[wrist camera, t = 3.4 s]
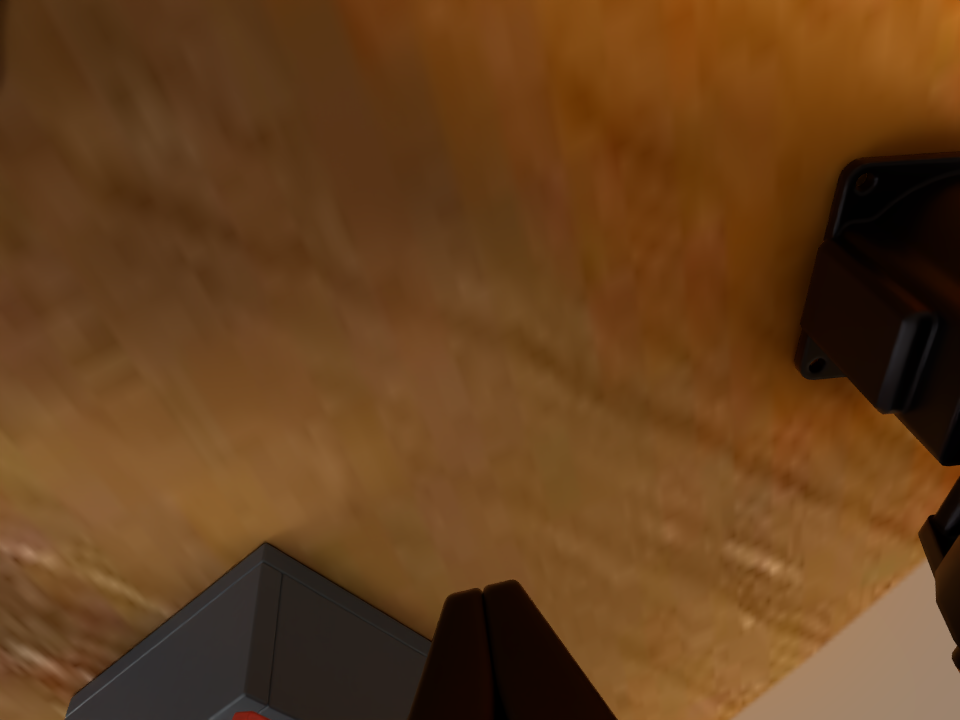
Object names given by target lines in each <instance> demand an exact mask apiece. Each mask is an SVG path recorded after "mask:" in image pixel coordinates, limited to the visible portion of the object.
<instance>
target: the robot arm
mask: <svg viewBox="0 0 960 720" xmlns="http://www.w3.org/2000/svg"><path fill="white" fill-rule="evenodd" d="M866 173H867V177H866V179H865V181H864V182H863V183H862V184H861V185H859V186H856V182H857V180H858V178H859V177H861V176H862V175H863V174H866ZM800 325H801V328H802V331H801V335H800V339H799V343H798V347H797V352H796V356H795V363H794V365H795V367H796V369H797V370H798V371H799V372H800V374H801V375H802V376H803V377H804V378H806V379H809V380H818V379H828V378H839V377H847V378H848V379H849V380H850V381H851V382H852V383H853V384H854V385H855V386H856V387H857V389H858V390H859V391H860V392H861V393H862V394H863V395H864V396H865V397H866V398H867V399H868V400H869V402H870V403H871V404H872V405H873V406H874V407H875V408H876V409H877V410H878V411H879V412H880V413H882V414H894V415H895V416H896V417H897V418H898V419H899V420H900V421H901V422H902V423H903V424H904V425H905V426H906V427H907V428H908V430H909V431H910V432H911V433H912V434H913V435H914V436H915V437H916V438H917V439H918V440H919V441H920V442H921V443H922V444H923V445H924V446H925V448H926V449H927V450H928V451H929V452H930V453H931V454H932V455H933V456H934V457H935V458H936V459H937V460H938V461H939V462H940V463H941V464H942V466H955V465H960V152H946V153H931V154H915V155H900V156H884V157H869V158H860V159H856V160H854V161H852V162H850V163H849V164H847V165H846V167H845V168H844V169H843V170H842V172H841V174H840V176H839V179H838V183H837V187H836V191H835V195H834V199H833V203H832V207H831V212H830V216H829V220H828V224H827V228H826V232H825V236H824V240H823V242H822V244H821V245H820V247H819V248H818V252H817V256H816V260H815V264H814V268H813V273H812V277H811V281H810V285H809V289H808V293H807V298H806V302H805V306H804V310H803V314H802V318H801V323H800ZM818 358H819V359H818ZM815 359H818V361H817V362H815V363H814V364H812V365H810V364H811V362H812V361H814V360H815ZM918 535H919V538H920V541H921V544H922V546H923V549H924V552H925V554H926V557H927V560H928V562H929V565H930V567H931V570H932V573H933V576H934V578H935V585H936V603H937V605H938V607H939V609H940V611H941V614H942V616H943V618H944V620H945V622H946V625H947V627H948V629H949V631H950V633H951V635H952V638H953V640H954V641H955V643H956V644H957V647H956V648H955V650H954V651H953V653H952V660H953V662H954V664H955V666H956V667H957V669H958V671H959V672H960V476H959V478H958V480H957V481H956V483H955V484H954V486H953V487H952V489H951V491H950V492H949V494H948V495H947V497H946V499H945V500H944V502H943V503H942V505H941V506H940V508H939V510H938V511H937V513H936V514H935V515H930V516H929V517H928V518H927V520H926V522H925V523H924V525H923V526H922V528H921V530H920V531H919V533H918ZM407 720H618V719H617V718H616V717H615V715H614V714H613V712H612V711H611V710H610V708H609V707H608V705H607V704H606V703H605V701H604V700H603V699H602V697H601V696H600V694H599V693H598V692H597V690H596V689H595V687H594V686H593V685H592V683H591V682H590V680H589V679H588V678H587V676H586V675H585V674H584V672H583V671H582V669H581V668H580V667H579V665H578V664H577V662H576V661H575V660H574V658H573V657H572V655H571V654H570V653H569V651H568V650H567V648H566V647H565V646H564V644H563V643H562V642H561V640H560V639H559V637H558V636H557V635H556V633H555V632H554V630H553V629H552V628H551V626H550V625H549V623H548V622H547V621H546V619H545V618H544V617H543V615H542V614H541V612H540V611H539V610H538V608H537V607H536V605H535V604H534V603H533V601H532V600H531V598H530V597H529V596H528V594H527V593H526V591H525V590H524V589H523V587H522V586H521V585H520V583H519V582H517V581H516V580H508V581H504V582H499V583H495V584H491V585H488V586H486V587H485V588H484V590H483V592H482V591H481V590H480V589H478V588H474V589H470V590H465V591H461V592H457V593H453V594H450V595H449V596H448V597H447V599H446V600H445V603H444V606H443V609H442V612H441V615H440V618H439V621H438V624H437V628H436V631H435V634H434V637H433V640H432V643H431V646H430V650H429V653H428V656H427V659H426V662H425V665H424V668H423V671H422V675H421V678H420V681H419V684H418V687H417V690H416V693H415V697H414V700H413V703H412V706H411V709H410V712H409V715H408V719H407Z"/></svg>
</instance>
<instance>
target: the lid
mask: <svg viewBox="0 0 960 720" xmlns="http://www.w3.org/2000/svg"><path fill="white" fill-rule="evenodd" d="M232 720H271V719H269V718H267V717H264V716H262V715H260V714H258V713H256V712H254V711H244V712H236V713H235V714H234V716H233V718H232Z"/></svg>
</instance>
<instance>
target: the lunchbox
mask: <svg viewBox="0 0 960 720" xmlns="http://www.w3.org/2000/svg"><path fill="white" fill-rule="evenodd" d="M431 643H432V642H430V641H429V640H427V639H425V638H424V637H422V636H420V635H419V634H417V633H415V632H414V631H412V630H410V629H409V628H407V627H405V626H404V625H402V624H400V623H399V622H397V621H395V620H394V619H392V618H390V617H389V616H387V615H385V614H384V613H382V612H380V611H379V610H377V609H375V608H374V607H372V606H370V605H369V604H367V603H365V602H364V601H362V600H360V599H359V598H357V597H355V596H354V595H352V594H350V593H349V592H347V591H345V590H344V589H342V588H340V587H339V586H337V585H335V584H334V583H332V582H330V581H329V580H327V579H325V578H324V577H322V576H320V575H319V574H317V573H315V572H314V571H312V570H310V569H309V568H307V567H305V566H304V565H302V564H300V563H299V562H297V561H295V560H294V559H292V558H290V557H289V556H287V555H285V554H284V553H282V552H280V551H279V550H277V549H275V548H274V547H272V546H270V545H269V544H267V543H265V544H263V545H262V546H261V547H259V548H258V549H257V550H256V551H254V552H253V553H252V554H251V555H249V556H248V557H247V558H246V559H244V560H243V561H242V562H241V563H239V564H238V565H237V566H236V567H234V568H233V569H232V570H231V571H229V572H228V573H227V574H226V575H224V576H223V577H222V578H221V579H219V580H218V581H217V582H216V583H214V584H213V585H212V586H211V587H209V588H208V589H207V590H206V591H204V592H203V593H202V594H201V595H199V596H198V597H197V598H196V599H194V600H193V601H192V602H191V603H189V604H188V605H187V606H186V607H184V608H183V609H182V610H181V611H179V612H178V613H177V614H176V615H174V616H173V617H172V618H171V619H170V620H168V621H167V622H166V623H165V624H163V625H162V626H161V627H160V628H158V629H157V630H156V631H155V632H153V633H152V634H151V635H150V636H148V637H147V638H146V639H145V640H143V641H142V642H141V643H140V644H138V645H137V646H136V647H135V648H133V649H132V650H131V651H130V652H128V653H127V654H126V655H125V656H123V657H122V658H121V659H120V660H118V661H117V662H116V663H115V664H113V665H112V666H111V667H110V668H108V669H107V670H106V671H105V672H103V673H102V674H101V675H100V676H98V677H97V678H96V679H95V680H93V681H92V682H91V683H90V684H88V685H87V686H86V687H85V688H83V689H82V690H81V691H80V692H78V693H77V694H76V695H75V696H73V697H72V698H71V701H70V704H69V707H68V710H67V713H66V718H65V719H64V720H232V718H233V716H234V714H235V713H236V712H244V711H254V712H256V713H258V714H260V715H262V716H264V717H267V718H269V719H271V720H407V719H408V715H409V712H410V709H411V706H412V703H413V700H414V697H415V693H416V690H417V687H418V684H419V681H420V678H421V675H422V671H423V668H424V665H425V662H426V659H427V656H428V653H429V650H430V646H431Z"/></svg>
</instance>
